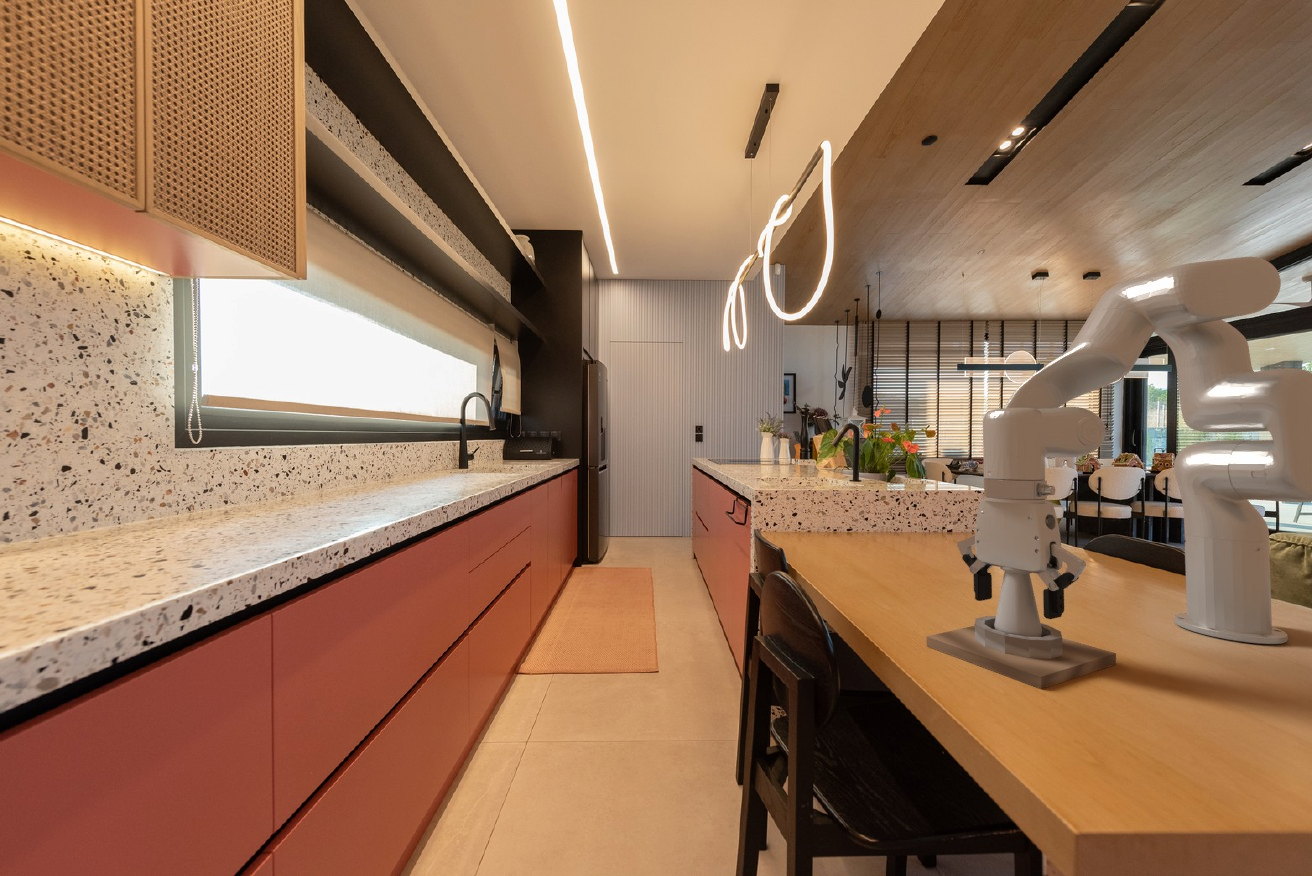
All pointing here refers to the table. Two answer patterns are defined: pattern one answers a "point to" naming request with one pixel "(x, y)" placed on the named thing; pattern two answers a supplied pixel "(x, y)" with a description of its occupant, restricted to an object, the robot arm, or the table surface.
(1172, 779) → the table surface
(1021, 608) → the salt shaker
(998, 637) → the collar board
